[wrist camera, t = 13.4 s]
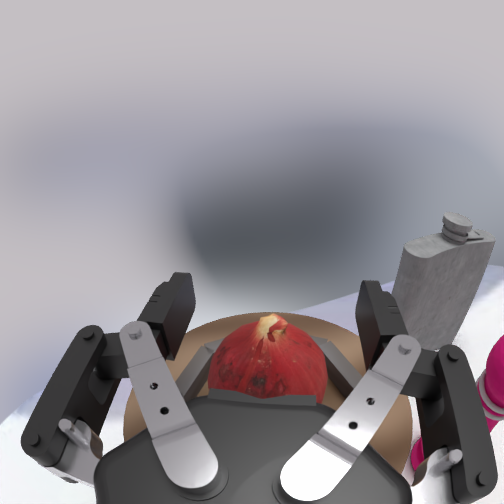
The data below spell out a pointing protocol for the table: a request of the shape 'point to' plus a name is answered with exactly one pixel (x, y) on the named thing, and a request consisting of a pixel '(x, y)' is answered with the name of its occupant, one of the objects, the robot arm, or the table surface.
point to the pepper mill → (482, 395)
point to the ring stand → (337, 363)
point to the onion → (269, 361)
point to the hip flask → (441, 280)
